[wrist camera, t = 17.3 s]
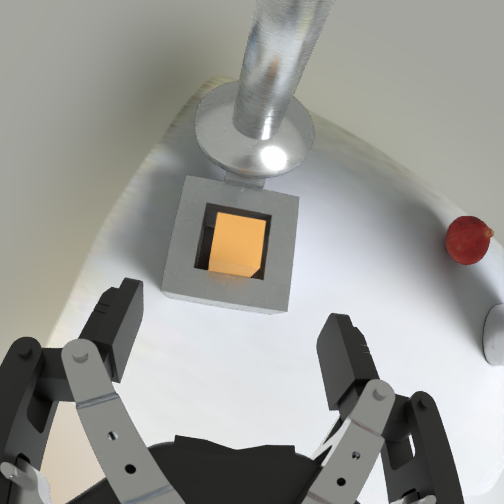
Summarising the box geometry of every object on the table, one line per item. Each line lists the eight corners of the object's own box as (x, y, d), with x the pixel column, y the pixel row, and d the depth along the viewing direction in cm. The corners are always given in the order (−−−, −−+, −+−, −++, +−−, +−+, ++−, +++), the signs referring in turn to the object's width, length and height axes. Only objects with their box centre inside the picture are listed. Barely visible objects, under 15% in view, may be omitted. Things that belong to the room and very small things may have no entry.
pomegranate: (428, 227, 32) (473, 204, 24) (454, 225, 33) (496, 205, 25) (438, 273, 30) (487, 258, 23) (464, 267, 31) (508, 252, 24)
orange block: (245, 254, 27) (265, 220, 18) (240, 287, 26) (259, 268, 18) (212, 248, 27) (217, 212, 18) (206, 281, 26) (209, 259, 17)
